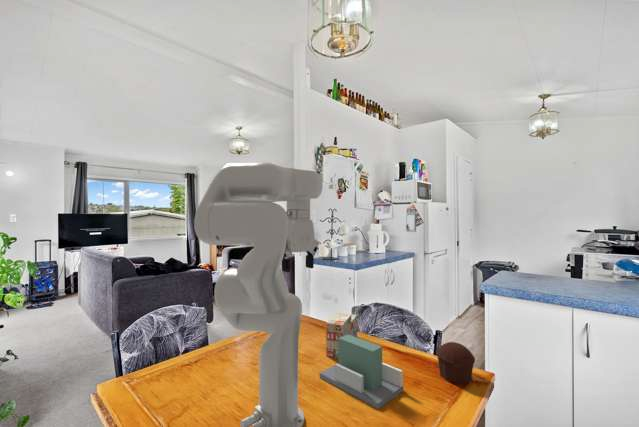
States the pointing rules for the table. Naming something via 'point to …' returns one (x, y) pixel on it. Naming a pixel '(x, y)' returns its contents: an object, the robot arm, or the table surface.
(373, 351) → the book
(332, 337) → the printed carton
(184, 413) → the table surface
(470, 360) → the muffin
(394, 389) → the grey slotted holder
